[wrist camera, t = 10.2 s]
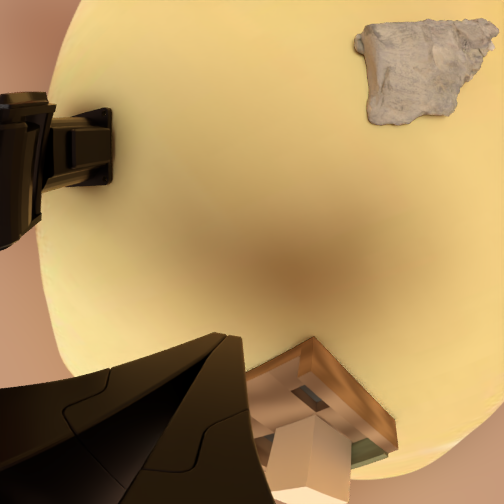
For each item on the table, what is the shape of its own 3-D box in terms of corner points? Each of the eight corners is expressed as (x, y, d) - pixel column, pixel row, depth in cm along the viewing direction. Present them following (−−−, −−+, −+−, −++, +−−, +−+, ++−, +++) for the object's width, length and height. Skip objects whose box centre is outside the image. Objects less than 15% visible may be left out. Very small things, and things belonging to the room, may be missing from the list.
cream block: (276, 428, 24) (259, 492, 17) (315, 414, 22) (306, 486, 15) (314, 452, 25) (305, 510, 18) (351, 440, 23) (348, 502, 16)
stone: (502, 106, 11) (534, 101, 8) (373, 134, 15) (391, 128, 11) (469, 29, 10) (493, 12, 6) (333, 46, 13) (338, 19, 10)
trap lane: (198, 394, 27) (182, 424, 23) (314, 336, 21) (310, 376, 17) (288, 457, 29) (282, 484, 25) (394, 420, 23) (398, 453, 19)
